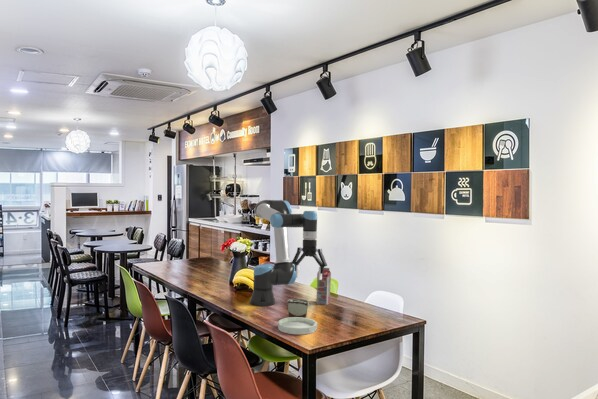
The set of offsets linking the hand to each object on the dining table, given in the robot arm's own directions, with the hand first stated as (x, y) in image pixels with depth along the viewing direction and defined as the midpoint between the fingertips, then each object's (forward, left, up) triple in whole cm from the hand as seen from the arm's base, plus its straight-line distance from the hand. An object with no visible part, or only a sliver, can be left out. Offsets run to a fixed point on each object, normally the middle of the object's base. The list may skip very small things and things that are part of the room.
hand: (308, 278), depth 233 cm
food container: (-2, -5, -21) cm, 22 cm away
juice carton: (-14, +32, -21) cm, 41 cm away
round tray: (+9, -19, -21) cm, 30 cm away
